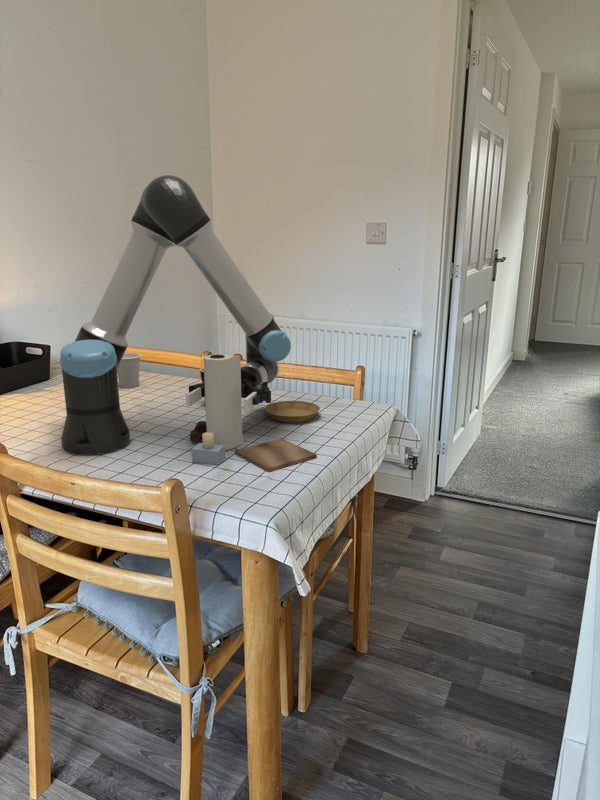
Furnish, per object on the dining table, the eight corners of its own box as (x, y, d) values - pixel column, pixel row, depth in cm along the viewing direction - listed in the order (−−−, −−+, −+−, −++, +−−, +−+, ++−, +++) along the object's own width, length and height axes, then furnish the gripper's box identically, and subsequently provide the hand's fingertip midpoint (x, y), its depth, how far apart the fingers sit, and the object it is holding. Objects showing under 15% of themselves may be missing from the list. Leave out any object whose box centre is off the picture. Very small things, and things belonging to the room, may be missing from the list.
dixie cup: (110, 386, 186) (107, 355, 184) (131, 381, 193) (129, 351, 190) (127, 390, 182) (124, 359, 179) (148, 385, 188) (146, 354, 185)
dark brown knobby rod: (192, 452, 137) (222, 430, 150) (208, 444, 135) (237, 423, 148) (180, 430, 137) (211, 410, 150) (195, 422, 134) (226, 403, 148)
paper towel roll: (202, 450, 133) (198, 357, 127) (214, 441, 138) (210, 352, 132) (232, 453, 131) (229, 360, 125) (242, 444, 136) (240, 354, 130)
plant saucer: (256, 413, 160) (256, 404, 160) (303, 406, 167) (303, 397, 166) (279, 429, 148) (279, 419, 147) (329, 420, 154) (330, 411, 154)
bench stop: (200, 455, 130) (198, 429, 128) (225, 458, 128) (224, 432, 127) (192, 462, 126) (191, 435, 124) (218, 464, 124) (217, 438, 123)
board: (268, 472, 121) (268, 468, 121) (234, 453, 131) (234, 450, 131) (316, 457, 129) (316, 454, 128) (281, 441, 138) (281, 438, 138)
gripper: (296, 398, 146) (270, 424, 127) (203, 391, 152) (165, 415, 133) (296, 368, 144) (270, 390, 124) (202, 362, 150) (163, 382, 130)
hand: (216, 403), depth 128 cm, fingers open, 13 cm apart
